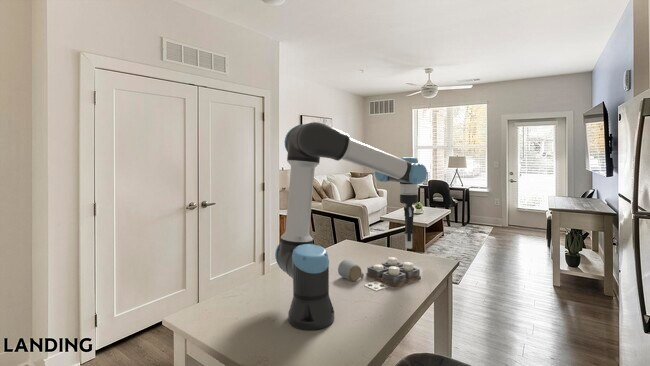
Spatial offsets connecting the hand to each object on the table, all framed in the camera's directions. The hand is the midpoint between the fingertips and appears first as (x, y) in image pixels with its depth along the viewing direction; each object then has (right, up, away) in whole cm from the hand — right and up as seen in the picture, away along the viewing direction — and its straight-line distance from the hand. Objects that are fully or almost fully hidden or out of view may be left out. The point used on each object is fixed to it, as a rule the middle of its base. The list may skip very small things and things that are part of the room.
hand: (408, 247), depth 143 cm
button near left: (-13, -12, +3) cm, 18 cm away
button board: (-6, -13, +2) cm, 15 cm away
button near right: (-7, -11, -5) cm, 14 cm away
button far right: (0, -10, +1) cm, 10 cm away
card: (-15, -14, -8) cm, 22 cm away
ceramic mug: (-24, -14, +2) cm, 28 cm away
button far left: (-6, -10, +8) cm, 14 cm away
